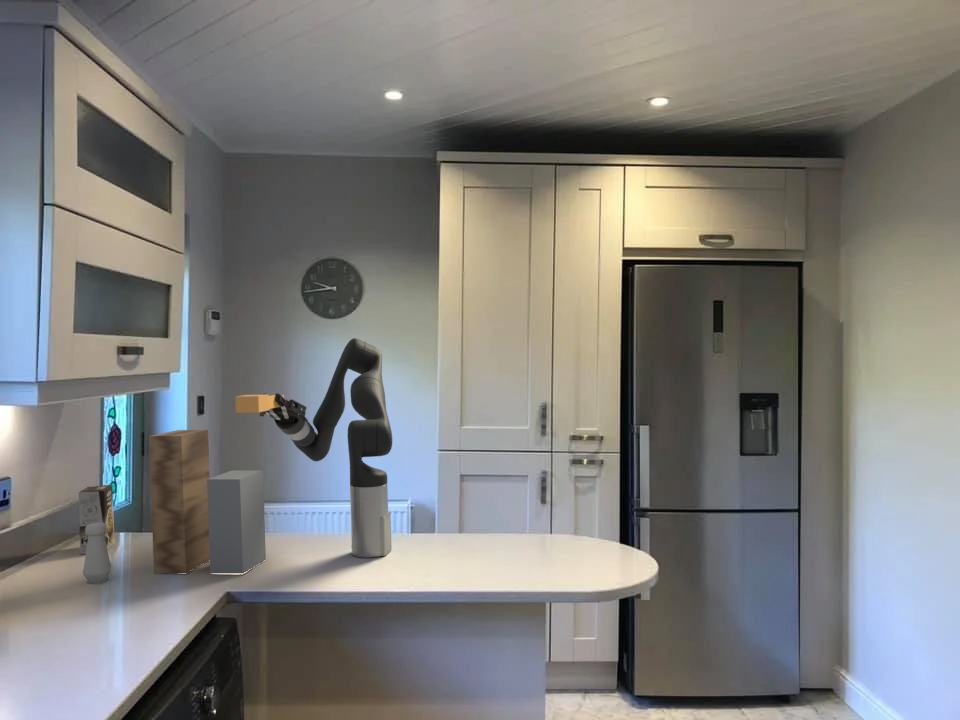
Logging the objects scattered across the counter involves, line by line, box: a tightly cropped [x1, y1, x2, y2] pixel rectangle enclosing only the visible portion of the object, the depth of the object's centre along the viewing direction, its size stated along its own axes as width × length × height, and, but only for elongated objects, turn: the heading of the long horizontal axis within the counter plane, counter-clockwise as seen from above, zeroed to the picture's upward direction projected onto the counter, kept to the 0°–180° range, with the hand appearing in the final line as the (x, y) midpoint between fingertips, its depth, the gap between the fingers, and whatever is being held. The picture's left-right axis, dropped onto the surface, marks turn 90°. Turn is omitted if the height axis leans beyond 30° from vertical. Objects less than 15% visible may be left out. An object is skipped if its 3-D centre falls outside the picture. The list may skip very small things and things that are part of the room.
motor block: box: [207, 469, 267, 574], centre depth 175 cm, size 8×12×22 cm, turn 171°
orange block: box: [235, 394, 285, 414], centre depth 193 cm, size 6×19×4 cm, turn 172°
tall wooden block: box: [148, 429, 211, 574], centre depth 177 cm, size 8×12×32 cm, turn 171°
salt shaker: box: [82, 523, 112, 585], centre depth 168 cm, size 6×6×13 cm
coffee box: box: [78, 484, 115, 555], centre depth 195 cm, size 9×6×16 cm
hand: (270, 396), depth 197 cm, fingers closed on orange block, 3 cm apart
